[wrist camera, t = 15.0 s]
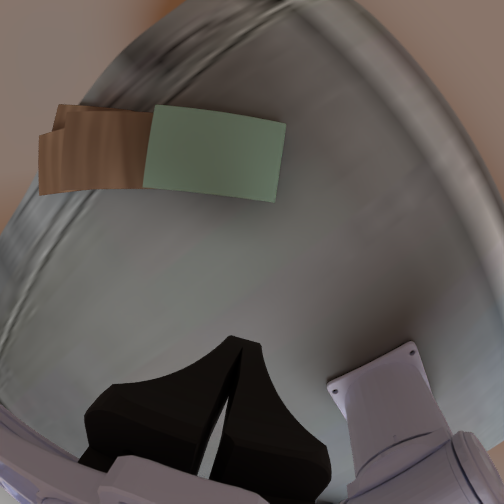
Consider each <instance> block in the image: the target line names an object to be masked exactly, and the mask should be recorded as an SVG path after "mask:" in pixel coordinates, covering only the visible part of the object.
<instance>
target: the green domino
mask: <svg viewBox="0 0 504 504" xmlns="http://www.w3.org/2000/svg"><path fill="white" fill-rule="evenodd" d="M285 131H286V124H284V123H280V122H275V121H270V120H265V119H260V118H254V117H249V116H243V115H237V114H231V113H225V112H218V111H211V110H203V109H195V108H187V107H177V106H167V105H155V109H154V114H153V120H152V125H151V131H150V137H149V143H148V150H147V157H146V164H145V171H144V179H143V187H145V188H156V189H166V190H176V191H186V192H195V193H204V194H212V195H221V196H229V197H237V198H245V199H252V200H259V201H267V202H274V203H275V199H276V193H277V186H278V179H279V172H280V165H281V159H282V152H283V145H284V138H285Z"/></svg>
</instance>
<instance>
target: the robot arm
mask: <svg viewBox="0 0 504 504" xmlns="http://www.w3.org/2000/svg"><path fill="white" fill-rule="evenodd" d="M412 350H414V351H413V352H412V353H410V352H411V351H412ZM334 389H337V391H333V390H334ZM327 390H328V392H329V393H330V395H331V397H332V398H333V400H334V401H335V403H336V404H337V406H338V408H339V409H340V411H341V412H342V414H343V416H344V417H345V419H346V420H347V423H348V429H349V435H350V441H351V448H352V455H353V462H354V469H355V476H356V479H355V480H354V481H353V482H352V483H350V484H348V485H347V492H348V499H345V500H343V501H341V502H340V503H339V504H504V485H503V482H502V479H501V477H500V475H499V473H498V471H497V469H496V467H495V465H494V463H493V462H492V460H491V458H490V457H489V455H488V453H487V452H486V450H485V448H484V447H483V445H482V444H481V443H480V441H479V440H478V438H477V437H476V436H475V435H474V434H473V433H472V432H463V431H458V432H457V433H456V434H455V435H454V436H453V434H452V432H451V430H450V428H449V426H448V424H447V422H446V420H445V418H444V416H443V414H442V412H441V410H440V408H439V406H438V404H437V402H436V401H435V399H434V397H433V394H432V391H431V388H430V385H429V382H428V379H427V375H426V372H425V369H424V366H423V364H422V361H421V358H420V355H419V352H418V349H417V347H416V344H415V343H414V342H413V341H409V342H407V343H405V344H403V345H402V346H400V347H398V348H396V349H394V350H393V351H391V352H389V353H387V354H385V355H383V356H381V357H379V358H378V359H376V360H374V361H372V362H370V363H368V364H366V365H364V366H362V367H360V368H358V369H356V370H353V371H351V372H349V373H347V374H345V375H343V376H341V377H338V378H336V379H334V380H332V381H330V382H328V383H327ZM228 396H229V398H228ZM227 399H228V403H227V408H226V414H225V419H224V425H223V430H222V436H221V440H220V444H219V447H218V451H217V454H216V457H215V460H214V464H213V467H212V470H211V473H210V477H209V479H205V478H202V477H198V476H197V474H198V471H199V468H200V465H201V462H202V459H203V456H204V453H205V450H206V447H207V444H208V441H209V439H210V436H211V434H212V432H213V429H214V427H215V425H216V423H217V421H218V419H219V416H220V414H221V412H222V410H223V408H224V405H225V403H226V401H227ZM84 423H85V428H86V433H87V438H88V443H89V447H88V448H87V450H86V451H85V452H84V454H83V455H82V456H81V458H80V459H79V458H77V457H75V456H74V455H72V454H70V453H69V452H67V451H65V450H64V449H62V448H60V447H59V446H57V445H56V444H54V443H52V442H51V441H49V440H48V439H46V438H45V437H43V436H42V435H40V434H39V433H38V432H36V431H35V430H33V429H32V428H30V427H29V426H28V425H26V424H25V423H24V422H22V421H21V420H20V419H18V418H17V417H16V416H14V415H13V414H12V413H11V412H9V411H8V410H7V409H6V408H5V407H3V406H2V405H1V404H0V486H1V487H2V488H3V489H4V490H6V491H7V492H8V493H9V494H10V495H11V496H12V497H14V498H15V499H16V500H17V501H18V502H19V503H21V504H315V500H316V499H317V497H318V496H319V495H320V494H321V493H322V492H323V491H324V489H325V488H326V487H327V486H328V484H329V483H330V481H331V463H330V458H329V454H328V450H327V447H326V445H324V444H323V443H322V442H320V441H319V440H318V439H317V438H315V437H314V436H313V435H312V434H310V433H309V432H308V431H307V430H306V429H305V428H304V427H303V426H302V425H301V424H300V423H299V422H298V421H297V420H296V419H295V418H294V416H293V415H292V414H291V413H290V412H289V410H288V409H287V408H286V406H285V405H284V403H283V402H282V400H281V399H280V397H279V395H278V393H277V392H276V390H275V388H274V386H273V383H272V381H271V379H270V376H269V374H268V371H267V368H266V365H265V362H264V358H263V354H262V346H261V345H260V343H257V342H253V341H250V340H246V339H242V338H239V337H235V336H232V335H230V336H228V337H227V338H226V339H225V340H224V341H223V342H222V343H221V344H220V345H219V346H217V347H216V348H215V349H214V350H212V351H211V352H210V353H208V354H207V355H206V356H204V357H203V358H201V359H200V360H198V361H196V362H195V363H193V364H191V365H189V366H188V367H186V368H184V369H181V370H179V371H177V372H175V373H172V374H169V375H166V376H163V377H160V378H156V379H152V380H147V381H142V382H135V383H124V384H112V385H111V386H110V387H109V388H108V389H107V390H105V391H104V392H103V393H102V394H101V395H100V396H99V397H98V398H97V399H96V400H95V402H94V403H93V404H92V405H91V406H90V407H89V409H88V410H87V411H86V413H85V415H84Z"/></svg>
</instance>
